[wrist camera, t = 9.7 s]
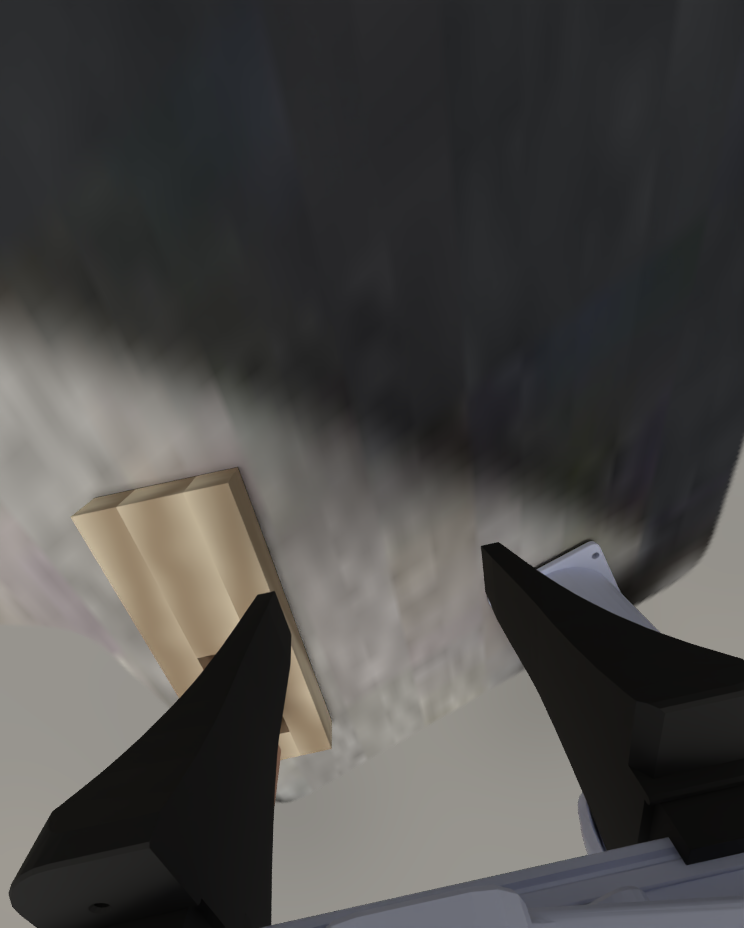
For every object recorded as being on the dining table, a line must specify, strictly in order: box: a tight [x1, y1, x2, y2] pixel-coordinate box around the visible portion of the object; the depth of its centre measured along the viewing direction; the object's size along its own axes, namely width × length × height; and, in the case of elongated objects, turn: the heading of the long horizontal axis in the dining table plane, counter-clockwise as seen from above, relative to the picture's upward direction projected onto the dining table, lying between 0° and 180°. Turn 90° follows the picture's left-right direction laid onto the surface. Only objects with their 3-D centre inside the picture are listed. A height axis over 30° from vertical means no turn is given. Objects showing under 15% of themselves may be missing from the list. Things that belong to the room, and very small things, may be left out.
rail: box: [71, 467, 332, 760], centre depth 24 cm, size 8×22×2 cm, turn 11°
